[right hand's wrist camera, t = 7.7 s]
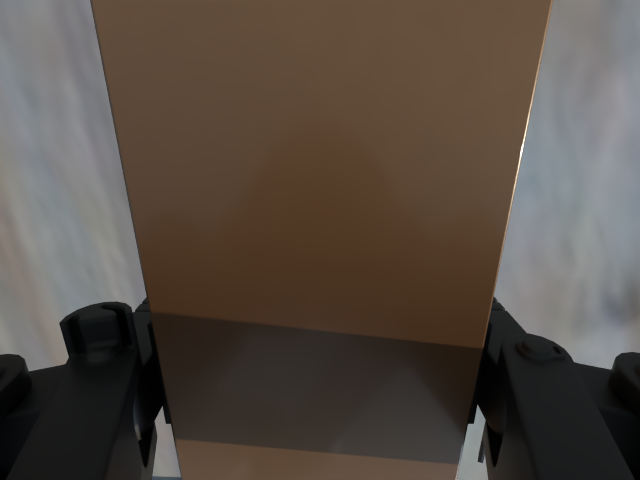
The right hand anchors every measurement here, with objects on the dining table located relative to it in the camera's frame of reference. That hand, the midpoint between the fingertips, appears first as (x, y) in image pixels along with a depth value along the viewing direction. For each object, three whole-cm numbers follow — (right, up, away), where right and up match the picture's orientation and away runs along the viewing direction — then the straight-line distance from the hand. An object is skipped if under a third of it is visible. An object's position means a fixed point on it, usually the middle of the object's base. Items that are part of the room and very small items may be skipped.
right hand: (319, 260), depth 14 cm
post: (0, +29, -11) cm, 31 cm away
